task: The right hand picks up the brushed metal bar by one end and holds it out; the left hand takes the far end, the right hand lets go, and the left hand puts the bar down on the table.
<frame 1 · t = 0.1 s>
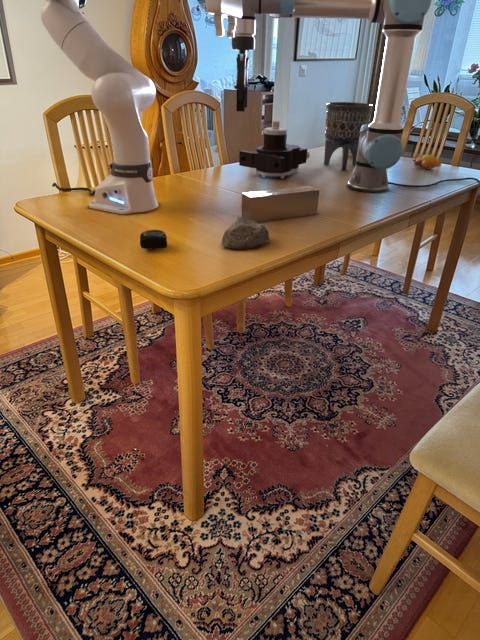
left hand: (225, 37, 118), 48 cm above the table, tool pointing down, fingers open, 8 cm apart
right hand: (241, 109, 155), 28 cm above the table, tool pointing down, fingers open, 13 cm apart
toy: (424, 167, 213), on the table
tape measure: (155, 248, 118), on the table
bar: (279, 216, 144), on the table
rock: (247, 244, 122), on the table
mechanical component: (280, 173, 196), on the table
planter: (341, 167, 211), on the table
figurine: (350, 154, 238), on the table
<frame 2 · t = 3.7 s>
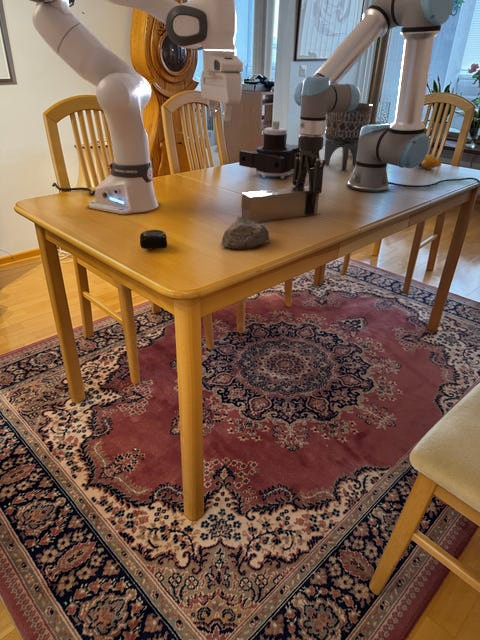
left hand: (219, 119, 129), 28 cm above the table, tool pointing down, fingers open, 8 cm apart
right hand: (304, 211, 147), 1 cm above the table, tool pointing down, fingers closed on bar, 6 cm apart
bar: (279, 216, 144), on the table, touching right hand
everything else where it was.
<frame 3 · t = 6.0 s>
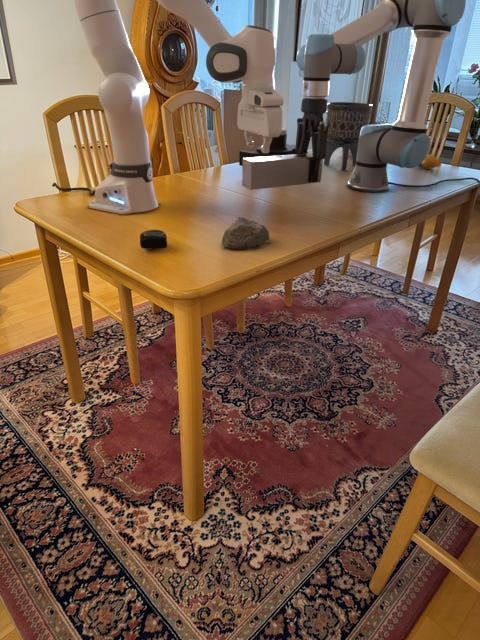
left hand: (257, 150, 130), 20 cm above the table, tool pointing down, fingers open, 8 cm apart
right hand: (307, 179, 142), 11 cm above the table, tool pointing down, fingers closed on bar, 6 cm apart
bar: (282, 183, 139), point 10 cm above the table, touching right hand
everything else where it was.
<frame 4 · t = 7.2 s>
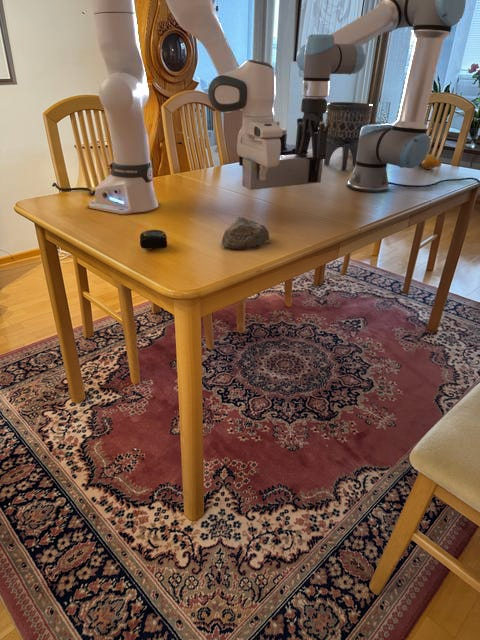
left hand: (256, 177, 134), 13 cm above the table, tool pointing down, fingers closed on bar, 5 cm apart
right hand: (307, 179, 142), 11 cm above the table, tool pointing down, fingers closed on bar, 6 cm apart
bar: (282, 184, 139), point 10 cm above the table, touching right hand, left hand
everything else where it was.
when the right hand's fingers open (11 cm above the table, at t = 8.2 s): bar stays where it is, held by the left hand.
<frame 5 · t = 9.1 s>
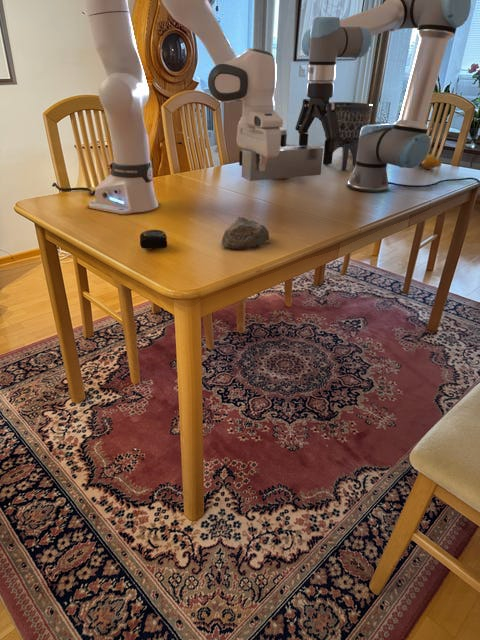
left hand: (255, 168, 133), 15 cm above the table, tool pointing down, fingers closed on bar, 5 cm apart
right hand: (314, 159, 140), 16 cm above the table, tool pointing down, fingers open, 13 cm apart
bar: (281, 175, 138), point 13 cm above the table, touching left hand
everything else where it was.
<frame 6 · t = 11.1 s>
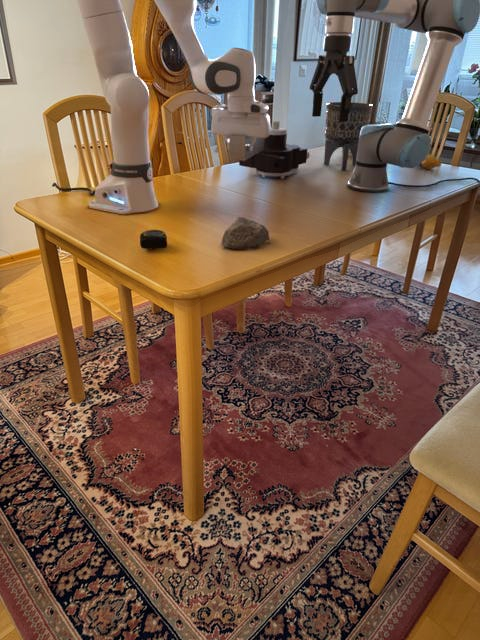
left hand: (240, 149, 156), 16 cm above the table, tool pointing down, fingers closed on bar, 5 cm apart
right hand: (329, 119, 136), 28 cm above the table, tool pointing down, fingers open, 13 cm apart
bar: (247, 153, 165), point 13 cm above the table, touching left hand
everything else where it was.
when the left hand's fingers open (4 cm above the table, at t = 12.9 s): bar stays where it is, on the table.
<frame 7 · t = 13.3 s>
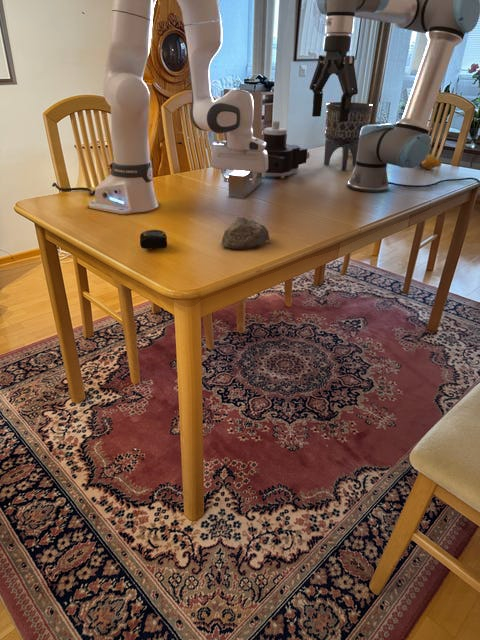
left hand: (238, 183, 162), 4 cm above the table, tool pointing down, fingers open, 8 cm apart
right hand: (329, 119, 136), 28 cm above the table, tool pointing down, fingers open, 13 cm apart
bar: (245, 189, 171), on the table
everything else where it was.
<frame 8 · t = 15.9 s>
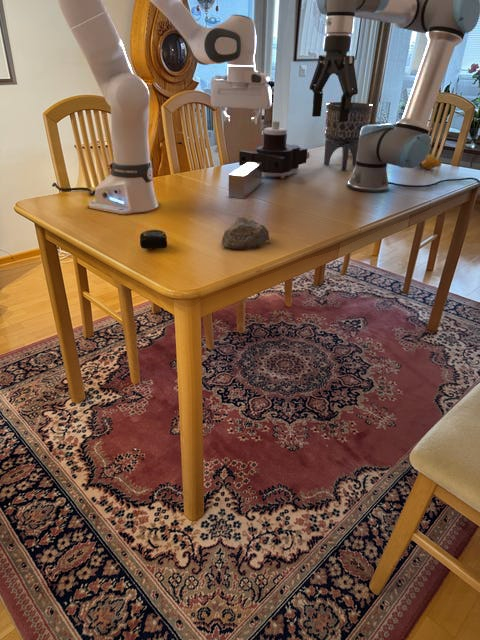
left hand: (240, 123, 152), 24 cm above the table, tool pointing down, fingers open, 8 cm apart
right hand: (329, 119, 136), 28 cm above the table, tool pointing down, fingers open, 13 cm apart
nothing on the table moved.
at the end: bar inside the target area (8.8 cm from its centre), on the table; the left hand is holding nothing; the right hand is holding nothing; bar at rest at the end (0.0 cm/s) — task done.
